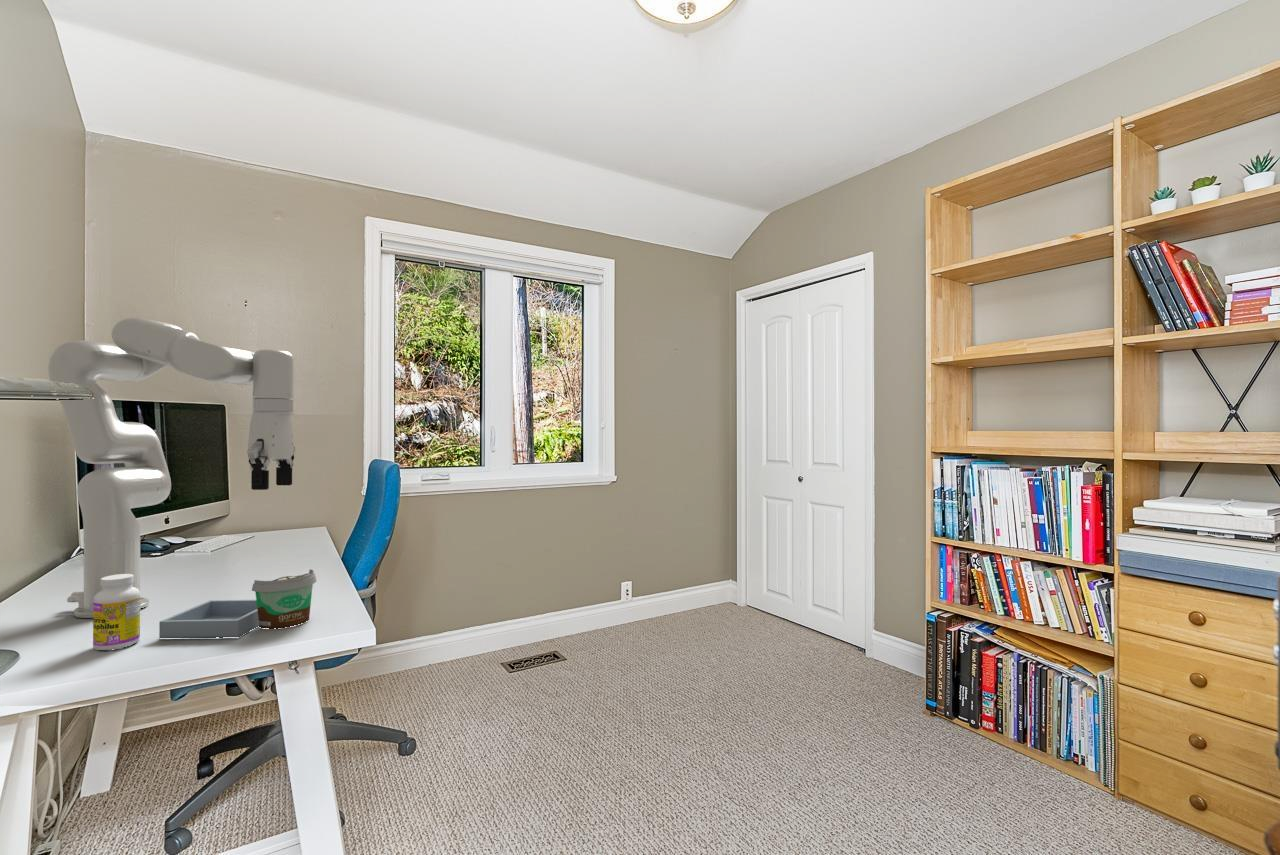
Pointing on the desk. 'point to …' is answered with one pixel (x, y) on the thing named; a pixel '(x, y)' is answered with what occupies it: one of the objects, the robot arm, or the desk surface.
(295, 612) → the food container
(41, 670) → the desk surface
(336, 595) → the desk surface
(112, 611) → the supplement bottle
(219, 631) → the tray
